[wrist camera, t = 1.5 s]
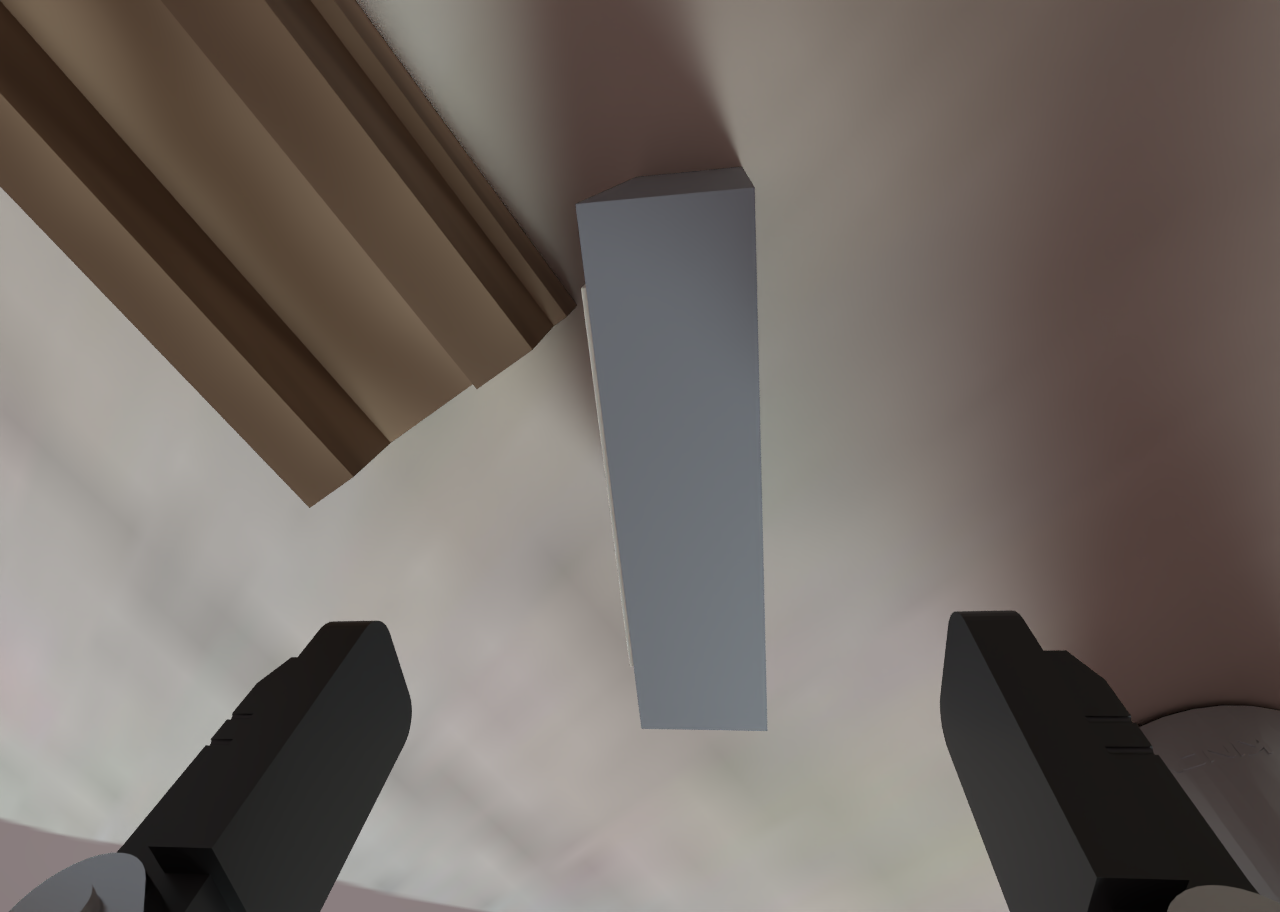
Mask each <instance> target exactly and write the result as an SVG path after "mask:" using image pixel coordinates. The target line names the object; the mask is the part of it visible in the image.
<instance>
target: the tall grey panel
mask: <svg viewBox="0 0 1280 912" xmlns="http://www.w3.org/2000/svg"><path fill="white" fill-rule="evenodd" d="M575 205H576V213H577V221H578V228H579V236H580V244H581V252H582V260H583V268H584V276H585V285H584V286H583V287H582V288H581V292H582V300H583V308H584V315H585V323H586V331H587V339H588V346H589V354H590V362H591V370H592V377H593V385H594V393H595V401H596V408H597V416H598V424H599V432H600V439H601V447H602V455H603V463H604V470H605V478H606V486H607V494H608V501H609V509H610V517H611V525H612V532H613V540H614V548H615V556H616V563H617V571H618V579H619V587H620V594H621V602H622V610H623V618H624V625H625V633H626V641H627V649H628V656H629V664H630V666H634V673H635V681H636V689H637V697H638V705H639V713H640V720H641V728H642V729H690V730H746V731H767V696H766V653H765V610H764V568H763V525H762V482H761V440H760V397H759V355H758V312H757V269H756V227H755V187H754V186H753V184H752V182H751V181H750V179H749V177H748V176H747V174H746V172H745V171H744V169H743V167H733V168H723V169H713V170H703V171H693V172H682V173H672V174H662V175H652V176H641V177H636V178H633V179H631V180H629V181H626V182H624V183H622V184H620V185H617V186H615V187H613V188H611V189H608V190H606V191H604V192H602V193H599V194H597V195H595V196H592V197H590V198H588V199H586V200H583V201H581V202H579V203H577V204H575Z"/></svg>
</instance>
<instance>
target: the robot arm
mask: <svg viewBox="0 0 1280 912" xmlns="http://www.w3.org/2000/svg"><path fill="white" fill-rule="evenodd" d="M940 713H941V722H942V728H943V733H944V737H945V741H946V745H947V748H948V750H949V753H950V756H951V758H952V761H953V764H954V766H955V769H956V771H957V774H958V777H959V779H960V782H961V785H962V787H963V790H964V792H965V795H966V798H967V800H968V803H969V806H970V808H971V811H972V813H973V816H974V819H975V821H976V824H977V827H978V829H979V832H980V834H981V837H982V840H983V842H984V845H985V848H986V850H987V853H988V855H989V858H990V861H991V863H992V866H993V869H994V871H995V874H996V876H997V879H998V882H999V884H1000V887H1001V890H1002V892H1003V895H1004V897H1005V900H1006V903H1007V905H1008V908H1009V911H1010V912H1280V711H1279V710H1273V709H1267V708H1261V707H1255V706H1215V707H1207V708H1199V709H1192V710H1188V711H1184V712H1180V713H1176V714H1173V715H1169V716H1165V717H1162V718H1160V719H1157V720H1155V721H1153V722H1150V723H1148V724H1145V725H1143V726H1141V727H1138V725H1137V724H1136V723H1132V721H1131V715H1130V714H1129V713H1128V711H1127V710H1126V708H1125V707H1124V706H1123V704H1122V703H1121V701H1120V700H1119V699H1118V697H1117V696H1116V694H1115V693H1114V692H1113V690H1112V689H1111V687H1110V686H1109V685H1108V683H1107V682H1106V681H1105V680H1104V679H1103V678H1102V677H1100V676H1099V675H1098V674H1096V673H1095V672H1094V671H1093V670H1091V669H1090V668H1089V667H1087V666H1086V665H1085V664H1083V663H1082V662H1081V661H1079V660H1078V659H1077V658H1075V657H1074V656H1073V655H1071V654H1070V653H1069V652H1067V651H1043V649H1042V648H1041V646H1040V645H1039V643H1038V641H1037V640H1036V638H1035V637H1034V635H1033V634H1032V632H1031V630H1030V629H1029V627H1028V626H1027V624H1026V623H1025V621H1024V620H1023V618H1022V617H1021V615H1020V614H1018V613H1017V612H1016V611H963V612H953V613H952V615H951V617H950V620H949V624H948V633H947V641H946V650H945V659H944V668H943V677H942V686H941V695H940ZM411 717H412V706H411V699H410V695H409V692H408V689H407V685H406V682H405V679H404V676H403V673H402V670H401V667H400V664H399V660H398V657H397V654H396V651H395V648H394V645H393V642H392V639H391V635H390V633H389V630H388V628H387V626H386V625H385V624H384V623H383V622H381V621H338V622H329V623H327V624H325V625H324V626H323V627H322V628H321V629H320V630H319V631H318V632H317V634H316V635H315V636H314V637H313V639H312V640H311V641H310V642H309V644H308V645H307V646H306V648H305V649H304V650H303V651H302V653H301V654H300V655H299V656H298V657H291V658H290V659H289V660H287V661H286V662H285V663H283V664H282V665H281V666H279V667H278V668H277V669H275V670H274V671H273V672H271V673H270V674H269V675H267V676H266V677H265V678H264V679H262V680H261V681H260V682H258V683H257V684H256V685H255V686H254V688H253V689H252V690H251V691H250V693H249V694H248V695H247V696H246V697H245V699H244V700H243V701H242V702H241V703H240V705H239V706H238V707H237V708H236V709H235V711H234V712H233V713H232V719H231V720H226V722H225V723H224V724H223V725H222V726H221V728H220V729H219V730H218V731H217V732H216V734H215V735H214V736H213V737H212V738H211V744H210V746H205V747H204V748H203V749H202V751H201V752H200V753H199V754H198V755H197V757H196V758H195V759H194V760H193V761H192V763H191V764H190V765H189V766H188V767H187V769H186V770H185V771H184V772H183V773H182V775H181V776H180V777H179V778H178V780H177V781H176V782H175V783H174V784H173V786H172V787H171V788H170V789H169V790H168V792H167V793H166V794H165V795H164V796H163V798H162V799H161V800H160V801H159V803H158V804H157V805H156V806H155V807H154V809H153V810H152V811H151V812H150V813H149V815H148V816H147V817H146V818H145V819H144V821H143V822H142V823H141V824H140V825H139V827H138V828H137V829H136V830H135V832H134V833H133V834H132V835H131V836H130V838H129V839H128V840H127V841H126V842H125V844H124V845H123V846H122V847H121V848H120V849H119V850H118V852H117V853H108V854H102V855H98V856H94V857H91V858H88V859H85V860H83V861H81V862H78V863H76V864H73V865H72V866H70V867H68V868H66V869H64V870H62V871H60V872H58V873H57V874H55V875H54V876H52V877H50V878H49V879H47V880H46V881H44V882H43V883H42V884H40V885H39V886H38V887H36V888H35V889H33V890H32V891H31V892H30V893H29V894H27V895H26V896H25V897H24V898H23V899H22V900H21V901H19V902H18V903H17V904H16V905H15V906H14V907H13V908H12V909H11V910H10V911H9V912H320V910H321V909H322V907H323V905H324V903H325V901H326V899H327V897H328V895H329V893H330V891H331V889H332V887H333V885H334V883H335V881H336V879H337V877H338V875H339V873H340V871H341V869H342V867H343V865H344V863H345V861H346V859H347V857H348V855H349V853H350V851H351V849H352V847H353V845H354V843H355V841H356V839H357V837H358V835H359V833H360V831H361V829H362V827H363V825H364V824H365V822H366V820H367V818H368V816H369V814H370V812H371V810H372V808H373V806H374V804H375V802H376V800H377V798H378V796H379V794H380V792H381V790H382V788H383V786H384V784H385V782H386V780H387V778H388V776H389V774H390V772H391V770H392V768H393V766H394V764H395V762H396V760H397V758H398V756H399V754H400V752H401V750H402V748H403V746H404V744H405V742H406V740H407V737H408V734H409V730H410V725H411Z"/></svg>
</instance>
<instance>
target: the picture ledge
mask: <svg viewBox="0 0 1280 912" xmlns="http://www.w3.org/2000/svg"><path fill="white" fill-rule="evenodd" d="M0 187H1V188H2V189H3V190H4V191H5V192H6V193H7V194H8V195H9V196H10V197H11V198H12V199H13V200H14V201H15V202H16V203H17V204H18V205H19V206H20V207H21V208H22V209H23V211H24V212H25V213H26V214H27V215H28V216H29V217H30V218H31V219H32V220H33V221H34V222H35V223H36V224H37V225H38V226H39V227H40V228H41V229H42V230H43V231H44V232H45V233H46V234H47V235H48V237H49V238H50V239H51V240H52V241H53V242H54V243H55V244H56V245H57V246H58V247H59V248H60V249H61V250H62V251H63V252H64V253H65V254H66V255H67V256H68V257H69V258H70V259H71V260H72V261H73V262H74V264H75V265H76V266H77V267H78V268H79V269H80V270H81V271H82V272H83V273H84V274H85V275H86V276H87V277H88V278H89V279H90V280H91V281H92V282H93V283H94V284H95V285H96V286H97V287H98V288H99V290H100V291H101V292H102V293H103V294H104V295H105V296H106V297H107V298H108V299H109V300H110V301H111V302H112V303H113V304H114V305H115V306H116V307H117V308H118V309H119V310H120V311H121V312H122V313H123V314H124V316H125V317H126V318H127V319H128V320H129V321H130V322H131V323H132V324H133V325H134V326H135V327H136V328H137V329H138V330H139V331H140V332H141V333H142V334H143V335H144V336H145V337H146V338H147V339H148V340H149V341H150V343H151V344H152V345H153V346H154V347H155V348H156V349H157V350H158V351H159V352H160V353H161V354H162V355H163V356H164V357H165V358H166V359H167V360H168V361H169V362H170V363H171V364H172V365H173V366H174V367H175V369H176V370H177V371H178V372H179V373H180V374H181V375H182V376H183V377H184V378H185V379H186V380H187V381H188V382H189V383H190V384H191V385H192V386H193V387H194V388H195V389H196V390H197V391H198V392H199V393H200V395H201V396H202V397H203V398H204V399H205V400H206V401H207V402H208V403H209V404H210V405H211V406H212V407H213V408H214V409H215V410H216V411H217V412H218V413H219V414H220V415H221V416H222V417H223V418H224V419H225V420H226V422H227V423H228V424H229V425H230V426H231V427H232V428H233V429H234V430H235V431H236V432H237V433H238V434H239V435H240V436H241V437H242V438H243V439H244V440H245V441H246V442H247V443H248V444H249V445H250V446H251V448H252V449H253V450H254V451H255V452H256V453H257V454H258V455H259V456H260V457H261V458H262V459H263V460H264V461H265V462H266V463H267V464H268V465H269V466H270V467H271V468H272V469H273V470H274V471H275V472H276V474H277V475H278V476H279V477H280V478H281V479H282V480H283V481H284V482H285V483H286V484H287V485H288V486H289V487H290V488H291V489H292V490H293V491H294V492H295V493H296V494H297V495H298V496H299V497H300V498H301V499H302V501H303V502H304V503H305V504H306V505H307V506H308V507H309V508H310V507H312V506H313V505H314V504H316V503H317V502H319V501H320V500H322V499H323V498H324V497H326V496H327V495H329V494H330V493H331V492H333V491H334V490H336V489H337V488H338V487H340V486H341V485H343V484H344V483H345V482H347V481H348V480H350V479H351V478H353V477H354V476H355V475H356V474H357V473H358V472H359V471H360V470H361V469H363V468H364V467H365V466H366V465H367V464H368V463H369V462H370V461H371V460H372V459H374V458H375V457H376V456H377V455H378V454H379V453H380V452H381V451H382V450H383V449H384V448H386V447H387V446H388V445H389V444H390V443H391V442H393V441H394V440H395V439H397V438H398V437H400V436H401V435H402V434H404V433H405V432H406V431H408V430H409V429H411V428H412V427H413V426H415V425H416V424H418V423H419V422H420V421H422V420H423V419H425V418H426V417H427V416H429V415H430V414H432V413H433V412H434V411H436V410H437V409H439V408H440V407H441V406H443V405H444V404H446V403H447V402H448V401H450V400H451V399H453V398H454V397H455V396H457V395H458V394H460V393H461V392H462V391H464V390H465V389H467V388H468V387H469V386H471V385H472V384H473V385H474V386H475V388H476V389H478V388H479V387H481V386H482V385H483V384H485V383H486V382H488V381H489V380H490V379H492V378H493V377H495V376H496V375H497V374H499V373H500V372H502V371H503V370H505V369H506V368H507V367H509V366H510V365H512V364H513V363H514V362H516V361H517V360H519V359H520V358H521V357H523V356H524V355H526V354H527V353H528V352H530V351H531V350H533V349H534V347H535V346H536V345H537V344H538V343H539V342H540V341H541V340H542V339H543V337H544V336H545V335H546V334H547V333H548V332H549V331H550V330H551V329H552V328H553V326H555V325H556V324H557V323H559V322H560V321H562V320H563V319H564V318H566V317H567V316H568V315H569V314H570V313H571V312H572V310H573V309H574V308H575V307H576V306H577V305H576V303H575V302H574V301H573V299H572V298H571V296H570V295H569V294H568V292H567V291H566V290H565V288H564V287H563V285H562V284H561V283H560V281H559V280H558V279H557V277H556V276H555V274H554V273H553V272H552V270H551V269H550V268H549V266H548V265H547V263H546V262H545V261H544V259H543V258H542V257H541V255H540V254H539V252H538V251H537V250H536V248H535V247H534V246H533V244H532V243H531V241H530V240H529V239H528V237H527V236H526V235H525V233H524V232H523V230H522V229H521V228H520V226H519V225H518V224H517V222H516V221H515V219H514V218H513V217H512V215H511V214H510V213H509V211H508V210H507V208H506V207H505V206H504V204H503V203H502V202H501V200H500V199H499V197H498V196H497V195H496V193H495V192H494V191H493V189H492V188H491V186H490V185H489V184H488V182H487V181H486V180H485V178H484V177H483V175H482V174H481V173H480V171H479V170H478V169H477V167H476V166H475V164H474V163H473V162H472V160H471V159H470V158H469V156H468V155H467V153H466V152H465V151H464V149H463V148H462V147H461V145H460V144H459V142H458V141H457V140H456V138H455V137H454V136H453V134H452V133H451V131H450V130H449V129H448V127H447V126H446V125H445V123H444V122H443V120H442V119H441V118H440V116H439V115H438V114H437V112H436V111H435V109H434V108H433V107H432V105H431V104H430V103H429V101H428V100H427V98H426V97H425V96H424V94H423V93H422V92H421V90H420V89H419V87H418V86H417V85H416V83H415V82H414V81H413V79H412V78H411V76H410V75H409V74H408V72H407V71H406V70H405V68H404V67H403V65H402V64H401V63H400V61H399V60H398V59H397V57H396V56H395V54H394V53H393V52H392V50H391V49H390V48H389V46H388V45H387V43H386V42H385V41H384V39H383V38H382V37H381V35H380V34H379V32H378V31H377V30H376V28H375V27H374V26H373V24H372V23H371V21H370V20H369V19H368V17H367V16H366V15H365V13H364V12H363V10H362V9H361V8H360V6H359V5H358V4H357V2H356V1H355V0H0Z"/></svg>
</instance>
